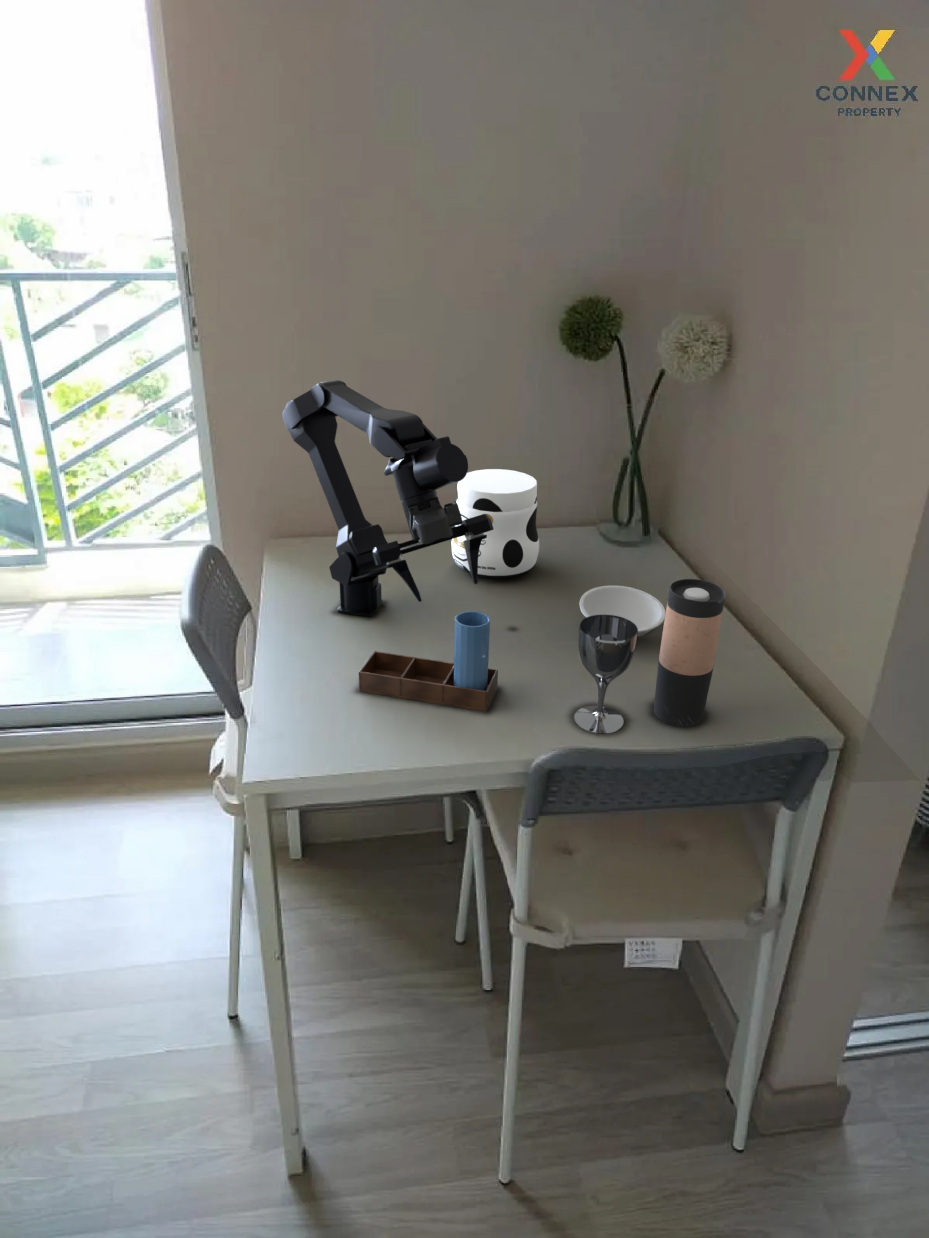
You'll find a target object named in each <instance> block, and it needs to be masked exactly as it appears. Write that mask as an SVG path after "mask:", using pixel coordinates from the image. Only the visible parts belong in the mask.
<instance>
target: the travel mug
mask: <svg viewBox="0 0 929 1238" xmlns="http://www.w3.org/2000/svg"><path fill="white" fill-rule="evenodd" d="M725 599H726V591H725V590H724V588H723V587H721V586H720V585H719V584H717V583H714V582H711V581H708V580H704V579H699V578H698V579H697V578H683V579H678V580H675V581H673V582H672V583H670V585H669V589H668V595H667V600H666V609H665V613H666V614H665V619H664V621H663V627H662V628H663V629H662V635H661V641H660V649H659V653H658V662H657V673H656V680H655V681H656V682H655V683H656V684H655V691H654V701H653V703H654V704H653V713H654V715H655V716H656V717H657V718H658V720H660V721H662V722H663V723H666V724H668V725H671V726H675V727H692V726H696V725H697V724H699V723H701V722H702V720H703V718H704V714H705V708H706V706H707V702H708V701H707V700H708V695H709V692H710V691H709V690H710V686H711V682H712V677H713V672H714V667H715V661H716V654H717V649H718V642H719V637H720V632H721V631H720V630H721V625H722V619H723V618H722V617H723V611H724V605H725Z"/></svg>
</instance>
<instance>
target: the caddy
mask: <svg viewBox="0 0 929 1238" xmlns="http://www.w3.org/2000/svg"><path fill="white" fill-rule="evenodd" d="M498 681H499V669H496V668H490V667H488V687H487V690H486V691H483V690H476V689H470V688H464V687H457V686H454V662H450V661H443V660H438V659H437V660H436V659H430V658H425V657H424V658H423V657H417V656H411V655H404V654H396V653H390V652H384V651H377V650H374V651H373V652H372V654H370V656H369V657H368V658H367V660H366V661H365V663H364V664H363V666H362V667H361V668H360V669H359V671H358V687H359V688H358V690H359V692H362V693H367V694H372V695H373V694H374V695H380V696H385V697H393V698H397V699H403V700H404V699H405V700H410V701H417V702H423V703H427V704H428V703H430V704H434V705H440V706H448V707H454V708H460V709H466V710H473V711H478V712H484V713H487V712H488V711H489V709H490V706H491V704H492V702H493V699H494V697H495V695H496V693H497V690H498Z"/></svg>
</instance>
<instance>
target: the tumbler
mask: <svg viewBox="0 0 929 1238" xmlns="http://www.w3.org/2000/svg"><path fill="white" fill-rule="evenodd" d="M490 629H491V618H490V616H489V615H488V614H486V613H484V612H481V611H478V610H477V611H475V610H469V611H462V612H460V613H458V614H456V615H455V617H454V640H453V641H454V643H453V644H454V646H453V648H454V651H453V663H454V686H457V687H464V688H470V689H476V690H483V691H486V690H487V687H488V668H489V656H490V633H491V630H490Z"/></svg>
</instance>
